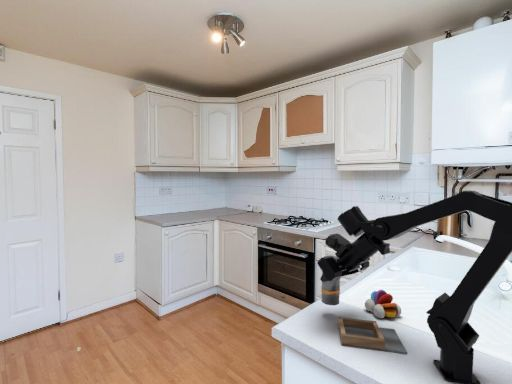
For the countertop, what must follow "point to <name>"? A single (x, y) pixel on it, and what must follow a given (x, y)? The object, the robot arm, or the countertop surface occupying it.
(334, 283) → the grey metal cylinder
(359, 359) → the countertop surface
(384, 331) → the picture frame
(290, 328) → the countertop surface
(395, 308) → the multicolored petal flower
